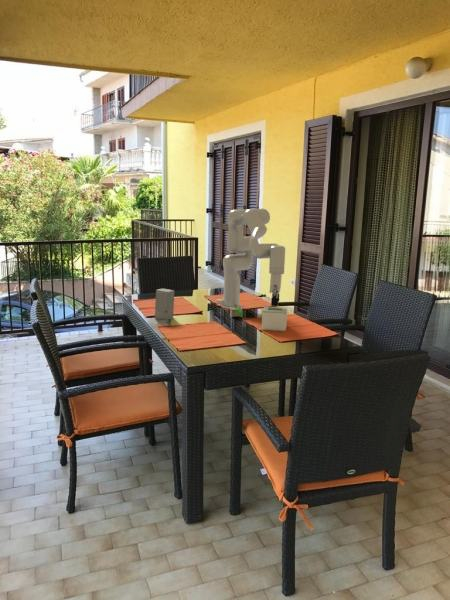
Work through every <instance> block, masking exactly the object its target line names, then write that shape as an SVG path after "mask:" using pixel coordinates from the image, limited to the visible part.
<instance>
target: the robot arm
mask: <svg viewBox="0 0 450 600" xmlns="http://www.w3.org/2000/svg"><path fill="white" fill-rule="evenodd" d="M270 219H271V216H270V213H269V211H268V210H267V209H265V208H250V209H243V208H241V209H232V210H230V211H229V212H228V214H227V226H228V232H227V240H226V241H227V244H226V247H227V248H226V249H227V252H229V253H232V254H227V255H225V256H224V257H223V259H222V267H223V286H224V287H223V298H222V299H216V303H218V304H220V308H223V309H228V310H230V307H234V304H237V307H243V305H242V304H241V303H240V299H241V298H240V296H241V294H240V293H241V292H240V291H241V276H240V274H239V273H238V271H247V270H249V269H251V267H252V264H253V257H255V258H256V259H258V260H260V259H261V260H263V259H265V260H266V259H269V263H268V264H269V265H268V266H269V268H268V273H269V274H270V281H269V293H270V294H271V301H270V302H271V304H270V305H271V306H270V307H279V305H278V304H279V302H280V292H281V288H282V275H285V265H286V263H285V262H286V261H285V259H286V247H285V246H283V245H279V244H278V243H259V241H258V239H261V238H262V237H264V236H265V234H266V233H267V232H268V231H267V230H268V228H267V226H266V225H267V224H269V222H270ZM244 225H245V226H247V228H248V230H249V232H250V233H251V235H250V236H247V235H246V236H245V235H244V228H243V226H244ZM243 235H244V236H243Z"/></svg>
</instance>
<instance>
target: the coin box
mask: <svg viewBox="0 0 450 600" xmlns="http://www.w3.org/2000/svg"><path fill="white" fill-rule="evenodd" d="M287 323H288V307H283V306H282V307H281V306H265V305H264V307H263V309H262V312H261V331H270V330H271V331H272V332H273V331H274V332H286V330H287V325H288V324H287Z"/></svg>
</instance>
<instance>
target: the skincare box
mask: <svg viewBox="0 0 450 600" xmlns="http://www.w3.org/2000/svg"><path fill="white" fill-rule="evenodd" d="M174 309H175V290H174V289H168V288H159V289H156V290H155V305H154V318H155V319H158V320H164V321H168V320H171V319H174Z"/></svg>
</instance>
